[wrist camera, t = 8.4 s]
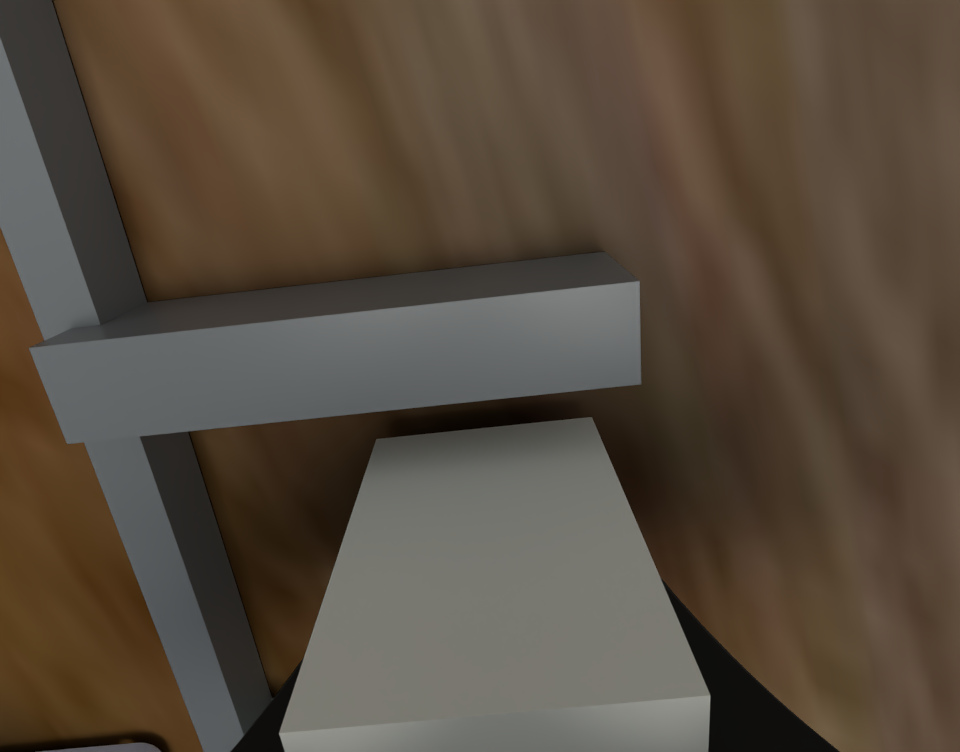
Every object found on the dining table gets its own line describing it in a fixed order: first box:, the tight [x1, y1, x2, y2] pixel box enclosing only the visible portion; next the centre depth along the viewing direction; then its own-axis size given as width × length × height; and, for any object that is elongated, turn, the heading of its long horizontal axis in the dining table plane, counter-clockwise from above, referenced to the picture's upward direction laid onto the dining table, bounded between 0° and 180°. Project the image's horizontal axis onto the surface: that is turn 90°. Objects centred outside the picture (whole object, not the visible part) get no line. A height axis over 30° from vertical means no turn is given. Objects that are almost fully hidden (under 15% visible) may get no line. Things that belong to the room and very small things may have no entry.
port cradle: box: [0, 0, 641, 752], centre depth 10 cm, size 10×20×2 cm, turn 6°
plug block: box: [279, 417, 710, 752], centre depth 9 cm, size 4×6×6 cm, turn 6°
